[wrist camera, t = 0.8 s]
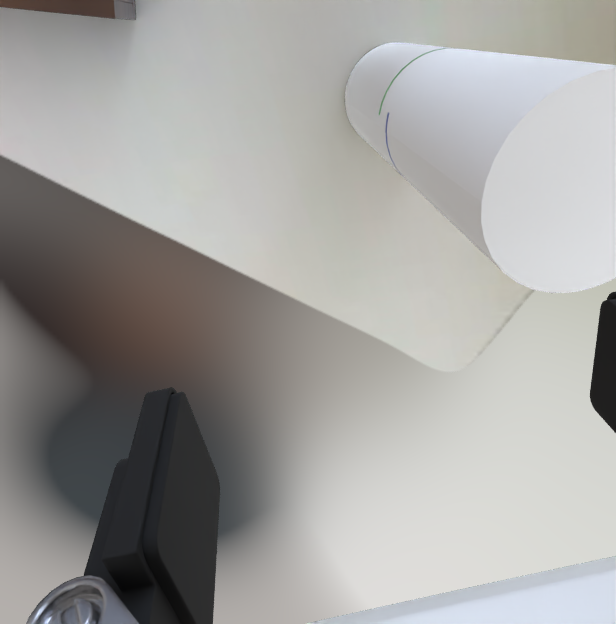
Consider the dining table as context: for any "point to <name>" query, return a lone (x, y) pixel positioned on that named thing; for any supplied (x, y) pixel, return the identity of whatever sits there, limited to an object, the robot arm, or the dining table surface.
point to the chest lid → (66, 6)
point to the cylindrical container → (502, 152)
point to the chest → (125, 9)
